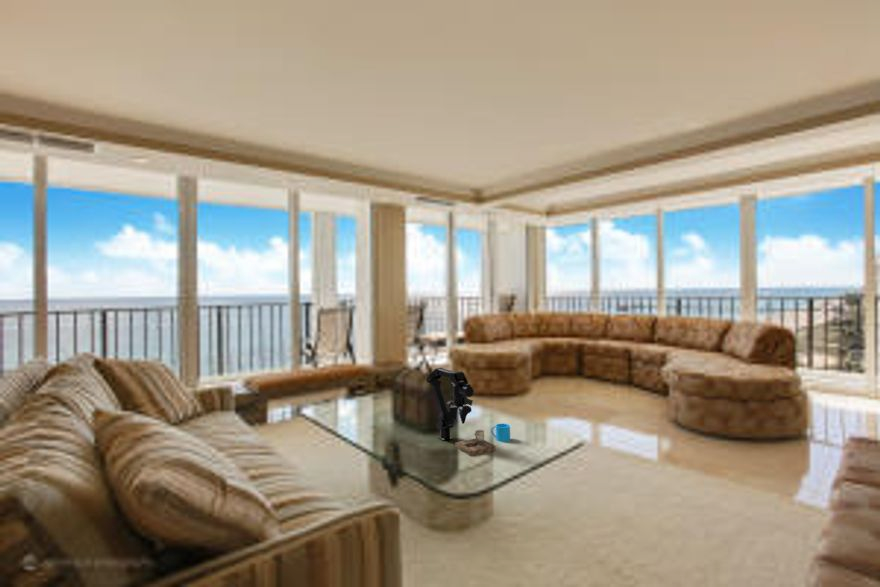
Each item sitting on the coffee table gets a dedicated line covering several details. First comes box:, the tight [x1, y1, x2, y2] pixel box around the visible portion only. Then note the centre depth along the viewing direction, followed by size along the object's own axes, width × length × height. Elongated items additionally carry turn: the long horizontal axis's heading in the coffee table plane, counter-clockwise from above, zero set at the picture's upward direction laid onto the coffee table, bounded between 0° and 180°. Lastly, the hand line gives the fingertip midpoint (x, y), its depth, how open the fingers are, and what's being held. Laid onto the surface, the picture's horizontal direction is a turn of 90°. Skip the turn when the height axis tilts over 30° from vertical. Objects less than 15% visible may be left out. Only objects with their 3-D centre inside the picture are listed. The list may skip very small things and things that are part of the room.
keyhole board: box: [454, 437, 497, 457], centre depth 228 cm, size 16×16×2 cm
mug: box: [490, 423, 511, 443], centre depth 243 cm, size 12×8×8 cm
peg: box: [475, 429, 485, 445], centre depth 230 cm, size 5×5×9 cm
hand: (459, 421), depth 235 cm, fingers open, 9 cm apart
